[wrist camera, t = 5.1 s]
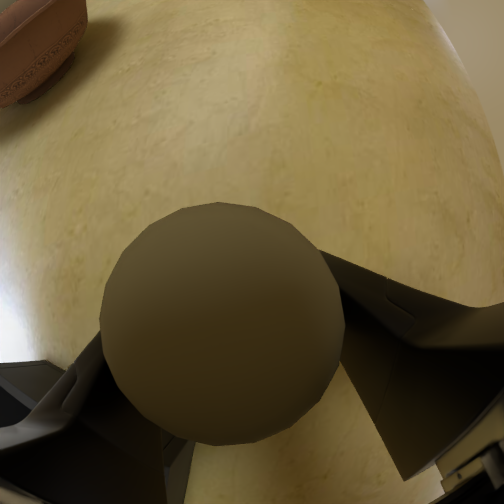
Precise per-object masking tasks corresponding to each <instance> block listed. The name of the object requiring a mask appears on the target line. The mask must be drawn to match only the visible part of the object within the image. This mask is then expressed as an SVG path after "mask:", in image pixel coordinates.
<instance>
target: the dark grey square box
mask: <svg viewBox="0 0 504 504" xmlns="http://www.w3.org/2000/svg"><path fill="white" fill-rule="evenodd" d="M65 372H66V371H64V370H62V369H60V368H58V367H56V366H55V365H53V364H51V363H49V362H48V361H46V360H40V361H28V362H13V363H0V428H3V427H8V426H12V425H15V424H17V423H19V422H21V421H22V420H24V419H25V418H26V417H27V416H28V415H29V414H30V412H31V411H32V410H33V409H34V408H35V407H36V406H37V404H38V403H39V402H40V401H41V400H42V399H43V398H44V396H45V395H46V394H47V393H48V392H49V391H50V390H51V389H52V387H53V386H54V385H55V384H56V383H57V382H58V381H59V379H60V378H61V377H62V376H63V374H64V373H65ZM161 433H162V450H163V463H164V475H165V483H166V492H167V500H168V504H183V503H184V498H185V492H186V487H187V482H188V477H189V471H190V466H191V461H192V456H193V451H194V446H195V441H191V440H187V439H183V438H179V437H176V436H174V435H173V434H171V433H169V432H168V431H166V430H164V429H163V428H161Z"/></svg>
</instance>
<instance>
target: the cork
mask: <svg viewBox="0 0 504 504" xmlns="http://www.w3.org/2000/svg"><path fill="white" fill-rule="evenodd" d="M99 320H100V330H101V339H102V347H103V354H104V356H105V359H106V361H107V364H108V366H109V368H110V371H111V373H112V375H113V377H114V380H115V382H116V384H117V386H118V388H119V389H120V390H121V391H122V392H123V394H124V395H125V396H126V397H127V398H128V400H129V401H130V402H131V403H132V404H133V405H134V406H135V408H136V409H137V410H138V411H139V412H140V413H141V414H142V415H143V416H144V417H145V418H147V419H148V420H150V421H151V422H153V423H154V424H156V425H158V426H159V427H161V428H163V429H164V430H166V431H168V432H169V433H171V434H173V435H174V436H176V437H179V438H183V439H187V440H191V441H195V442H199V443H203V444H208V445H212V446H224V445H237V444H248V443H255V442H257V441H260V440H262V439H265V438H267V437H269V436H272V435H274V434H276V433H279V432H281V431H283V430H285V429H287V428H290V427H291V426H292V425H293V424H295V423H296V422H297V421H298V420H299V419H300V418H301V417H302V416H304V415H305V414H306V413H307V412H308V411H309V410H310V409H311V408H312V407H313V406H314V405H315V404H316V403H318V402H319V401H320V399H321V397H322V396H323V394H324V392H325V390H326V388H327V387H328V385H329V383H330V381H331V379H332V377H333V375H334V374H335V372H336V370H337V368H338V366H339V361H340V356H341V350H342V344H343V337H344V331H345V321H344V315H343V309H342V303H341V297H340V292H339V286H338V284H337V282H336V280H335V278H334V277H333V275H332V273H331V271H330V269H329V267H328V265H327V264H326V262H325V260H324V258H323V256H322V255H321V253H320V251H319V250H318V249H317V248H316V247H315V246H314V245H313V244H312V243H311V242H310V241H309V240H308V239H306V238H305V237H304V236H303V235H302V234H301V233H300V232H299V231H298V230H297V229H296V228H295V227H294V226H293V225H292V224H290V223H288V222H286V221H284V220H282V219H280V218H278V217H276V216H273V215H271V214H269V213H267V212H265V211H263V210H261V209H259V208H256V207H251V206H244V205H236V204H229V203H221V202H216V203H210V204H204V205H198V206H193V207H187V208H182V209H180V210H178V211H176V212H174V213H172V214H170V215H168V216H166V217H164V218H162V219H160V220H158V221H156V222H154V223H153V224H151V225H149V226H148V227H147V228H146V229H145V230H144V231H143V232H142V233H141V234H140V235H139V236H138V237H137V238H136V239H135V240H134V241H133V242H132V243H131V244H130V245H129V246H128V247H127V248H126V249H125V250H124V251H123V252H122V254H121V256H120V258H119V260H118V262H117V263H116V265H115V267H114V269H113V271H112V273H111V275H110V277H109V279H108V281H107V283H106V285H105V290H104V296H103V301H102V306H101V312H100V318H99Z"/></svg>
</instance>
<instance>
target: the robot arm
mask: <svg viewBox="0 0 504 504" xmlns="http://www.w3.org/2000/svg"><path fill="white" fill-rule="evenodd" d="M318 250H319V249H318ZM319 251H320V253H321V255H322V256H323V258H324V260H325V262H326V264H327V265H328V267H329V269H330V271H331V273H332V275H333V277H334V278H335V280H336V282H337V284H338V286H339V292H340V297H341V303H342V309H343V315H344V321H345V331H344V337H343V344H342V350H341V356H340V362H341V363H342V365H343V367H344V369H345V371H346V372H347V374H348V376H349V378H350V380H351V382H352V383H353V385H354V387H355V389H356V391H357V393H358V395H359V396H360V398H361V400H362V402H363V404H364V406H365V408H366V409H367V411H368V413H369V415H370V417H371V419H372V421H373V423H374V424H375V427H376V429H377V430H378V432H379V434H380V436H381V438H382V440H383V442H384V444H385V446H386V448H387V450H388V452H389V454H390V455H391V457H392V459H393V461H394V463H395V465H396V467H397V469H398V471H399V473H400V475H401V477H402V479H403V481H406V480H408V479H410V478H412V477H414V476H416V475H418V474H419V473H421V472H423V471H425V470H426V469H428V468H430V467H431V466H433V465H435V464H436V466H437V468H438V470H439V472H440V474H441V476H442V478H443V480H442V481H441V485H442V487H443V489H444V491H445V494H443V495H442V496H440V497H439V498H437V499H435V500H434V501H432V502H430V503H429V504H504V302H503V303H499V304H496V305H492V306H489V307H482V308H475V307H468V306H465V305H462V304H459V303H456V302H453V301H449V300H446V299H443V298H440V297H437V296H434V295H431V294H428V293H425V292H422V291H420V290H417V289H414V288H411V287H409V286H406V285H404V284H401V283H399V282H396V281H394V280H392V279H389V278H388V279H387V278H386V277H384V276H382V275H380V274H377V273H375V272H372V271H370V270H368V269H365V268H363V267H360V266H358V265H356V264H353V263H351V262H348V261H346V260H343V259H341V258H339V257H336V256H334V255H331V254H329V253H326V252H324V251H321V250H319ZM0 504H168V500H167V492H166V483H165V475H164V463H163V450H162V433H161V427H159V426H158V425H156V424H154V423H153V422H151V421H150V420H148V419H147V418H145V417H144V416H143V415H142V414H141V413H140V412H139V411H138V410H137V409H136V408H135V406H134V405H133V404H132V403H131V402H130V401H129V400H128V398H127V397H126V396H125V395H124V394H123V392H122V391H121V390H120V389H119V388H118V386H117V384H116V382H115V380H114V377H113V375H112V373H111V371H110V368H109V366H108V364H107V361H106V359H105V356H104V354H103V347H102V339H101V330H100V331H99V332H98V333H97V335H96V336H95V337H94V338H93V339H92V341H91V342H90V343H89V344H88V345H87V346H86V348H85V349H84V350H83V351H82V352H81V354H80V355H79V356H78V357H77V359H76V360H75V361H74V363H72V365H71V366H70V367H69V368H68V370H67V371H66V372H65V373H64V374H63V376H62V377H61V378H60V379H59V381H58V382H57V383H56V384H55V385H54V386H53V387H52V389H51V390H50V391H49V392H48V393H47V394H46V395H45V396H44V398H43V399H42V400H41V401H40V402H39V403H38V404H37V406H36V407H35V408H34V409H33V410H32V411H31V412H30V414H29V415H28V416H27V417H26V418H25V419H24V420H22V421H21V422H19V423H17V424H15V425H12V426H8V427H3V428H0Z"/></svg>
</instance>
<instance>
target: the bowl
mask: <svg viewBox="0 0 504 504" xmlns="http://www.w3.org/2000/svg"><path fill="white" fill-rule="evenodd" d="M87 22H88V16H87V7H86V0H17V1H16V2H15V3H13V4H12V5H10V6H9V7H8V8H6V9H5V10H4V11H3V12H2V13H1V14H0V108H4V107H7V106H9V105H11V104H13V103H14V102H16V101H17V102H18V103H19V104H26V103H29V102H31V101H33V100H35V99H37V98H39V97H40V96H41V95H43V94H44V93H45V92H47V91H48V90H49V89H50V88H51V87H52V86H53V85H55V84H56V83H57V82H58V81H59V80H60V79H61V78H62V77H63V75H64V74H65V73H66V72H67V70H68V69H69V68H70V66H71V64H72V62H73V60H74V58H75V55H74V52H73V51H74V49H75V48H76V46H77V44H78V42H79V41H80V39H81V37H82V36H83V34H84V32H85V30H86V27H87Z"/></svg>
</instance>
